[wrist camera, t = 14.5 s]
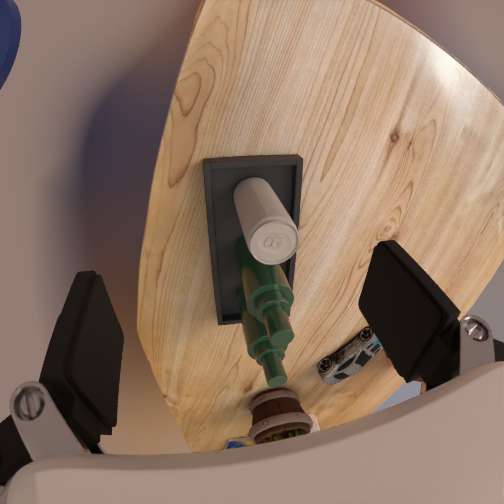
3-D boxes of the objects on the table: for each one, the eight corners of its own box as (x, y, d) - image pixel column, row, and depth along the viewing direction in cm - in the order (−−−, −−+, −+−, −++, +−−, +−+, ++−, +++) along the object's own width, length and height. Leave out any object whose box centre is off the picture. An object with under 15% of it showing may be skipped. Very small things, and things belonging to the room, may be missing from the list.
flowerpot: (314, 385, 66) (339, 455, 50) (277, 413, 72) (294, 477, 55) (267, 376, 60) (288, 459, 44) (231, 407, 66) (244, 480, 49)
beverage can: (264, 214, 38) (290, 269, 28) (228, 207, 37) (242, 262, 27) (276, 180, 36) (308, 225, 26) (238, 171, 34) (257, 214, 25)
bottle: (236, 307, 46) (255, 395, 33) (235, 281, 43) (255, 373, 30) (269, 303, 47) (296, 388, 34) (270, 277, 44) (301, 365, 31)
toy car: (387, 331, 60) (397, 347, 55) (329, 373, 64) (336, 390, 60) (374, 319, 56) (385, 336, 52) (312, 365, 61) (319, 383, 57)
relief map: (257, 457, 95) (258, 461, 93) (218, 460, 91) (219, 464, 89) (274, 435, 82) (276, 440, 80) (228, 438, 78) (229, 443, 76)
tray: (217, 316, 47) (218, 325, 46) (202, 158, 33) (203, 163, 32) (286, 307, 49) (289, 316, 47) (297, 154, 35) (303, 158, 33)
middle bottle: (234, 265, 42) (255, 358, 28) (233, 233, 39) (255, 324, 26) (270, 262, 43) (304, 350, 29) (271, 230, 40) (311, 315, 26)
